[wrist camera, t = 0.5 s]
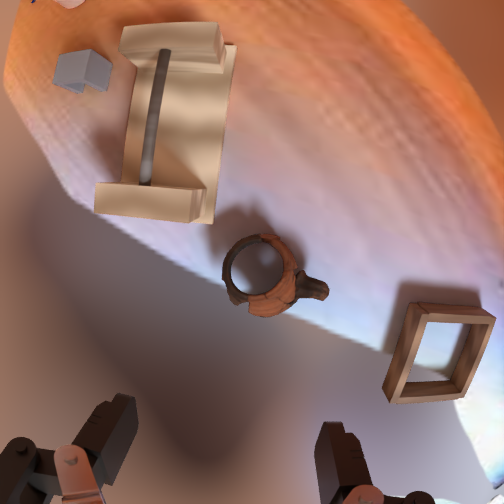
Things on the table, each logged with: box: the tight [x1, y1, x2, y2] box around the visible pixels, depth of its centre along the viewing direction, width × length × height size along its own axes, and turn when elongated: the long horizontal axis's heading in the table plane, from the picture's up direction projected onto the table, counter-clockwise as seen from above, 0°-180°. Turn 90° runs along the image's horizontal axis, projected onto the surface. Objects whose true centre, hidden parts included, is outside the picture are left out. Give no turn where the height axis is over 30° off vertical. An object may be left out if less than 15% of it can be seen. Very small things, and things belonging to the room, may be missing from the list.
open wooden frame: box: [382, 302, 496, 404], centre depth 38 cm, size 14×14×4 cm
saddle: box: [52, 49, 113, 94], centre depth 31 cm, size 4×5×6 cm
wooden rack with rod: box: [94, 22, 237, 224], centre depth 31 cm, size 22×12×9 cm, turn 173°
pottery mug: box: [222, 234, 329, 317], centre depth 36 cm, size 12×10×8 cm
